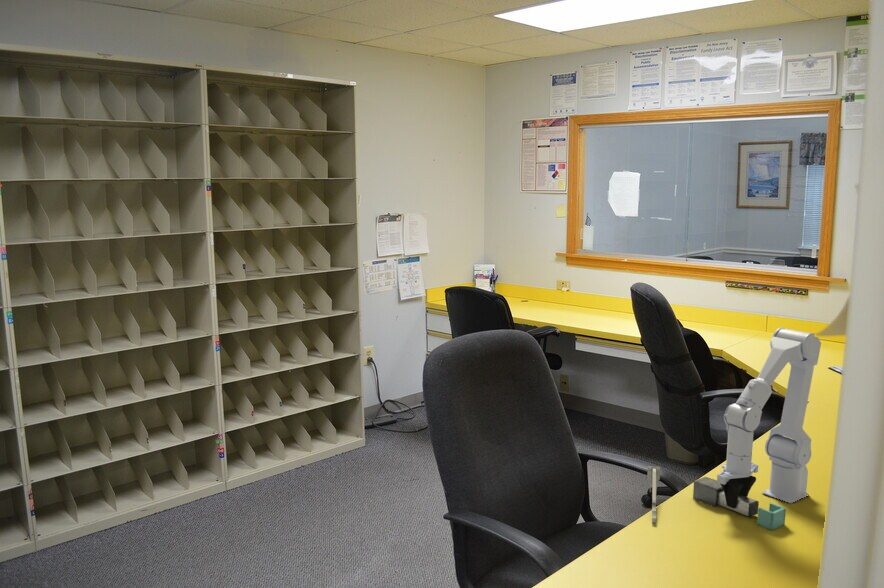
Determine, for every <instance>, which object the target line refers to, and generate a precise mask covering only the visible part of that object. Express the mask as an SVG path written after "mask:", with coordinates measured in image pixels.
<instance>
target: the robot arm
mask: <svg viewBox="0 0 884 588" xmlns="http://www.w3.org/2000/svg"><path fill="white" fill-rule="evenodd" d="M815 334H816V333H814V332H805V331H800V330H795V329H791V328H790V329H789V328H785V327H778V328H777V329H776V330H774V333H773V334H772V337H771V339H769V341H770V343H769V345H770V351H769V354H768V355H767V358H766V359H765V362H764V364H763V366H762V368H761V370H760V372H759V373H758V376H757V377H756V378H754V379H753V378H752V379H750V380H749V381H748V383H747V385H746V386H745V388H744V390H743V391H742V392H741V394H740V395H739V397H738V398H737V400H736V402H735V403H732V404H729V405H728V406H727V408H726V409H725V413H724V414H723V422H724V423H725V428H726V429H725V430H726V432H727V444H726V445H727V446H726V447H727V448H726V458H725V460H726V462H725V464H723V465H721V468H722V471H720V472H719V474H717V475H716V481H717V482H718V483H720V484H721V486H722V488H723V491H724V494H725V498H726V503H727V506H729V507H731V508H736V506H737V502H738V496H739V494H740V495H743V496H746V497H749V495H750V494H749V493H750V491H751V489H752V487H753V485H754V484H755V483H756V482H757V477H756V476H754V475H753V473H754V474H757V473H758V472H759V464H757V463H753V462H752V460H753V459H752V458H753V445H754V432H755V430H757V428H758V427H759V425H760V423H761V417H762V413H763V411H762V410H763V408H764V406H765V405H766V403H767V401H768V400H769V398H770V397H771V394H772V393H773V390H772V387H771V386H772V384H774V381H776V379H777V378H778V376H779V375H780V374H781V372H782V371H783V370H784V368H785V367H786V366H787V364H788V363H789V366H790V371H789V377H788V381H787V387H786V392H785V398H784V403H783V407H782V408H783V409H782V412H781V419H780V423H779V425H776V426H775V427H772V428H771V429H770V431H769V435H768V437H767V439H766V441H765V443H764V450H765V453H766V455H767V456H768V459H769V461H771V464H770V465H771V466H770V477H769V488H767V489H765V490H763V491H762V493H761V494H763V495H766V496H768V497H770V498H773V497H774V499H776V498H777V499H776V500H779V499H780V500H779V501H782V500H783V501H782V502H784V501H785V503H787V502H788V504H793V502H794V503H796V502H798V501H800V500H799V499H801V498H803V499H805V498H806V497H805V496H807V495H809V494H810V493H809V492H807V489H808V476H809V470H808V468H807V466H806V465H807V464H808V463H809V462H810V461H811V458H812V447H811V446H812V439H811V437H810V436H809V434H808V433H807V432H806V431H805V430H804V428H803V427H804V422H805V417H806V413H807V408H808V407H807V406H808V402H809V401H808V400H809V396H810V390H811V386H812V380H813V375H814V370H815V366H817V365H818V363H819V358H820V352H821V346H822V342H821V340H820V338H819V336H818V337H815V336H814V335H815ZM805 494H806V495H805ZM804 497H805V498H804ZM797 500H798V501H797ZM801 500H802V499H801ZM795 501H796V502H795Z"/></svg>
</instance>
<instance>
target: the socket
mask: <svg viewBox="0 0 884 588" xmlns="http://www.w3.org/2000/svg"><path fill="white" fill-rule="evenodd" d="M786 511H787V508H786V507H783V506H781V505H778V504H776V503H772V502H770V503H769V507H768V509H765V508H762V507H758V514H757V522H756V523H757V526H761V527H763V528H765V529H768V530H770V531H774V530H776V529H778V528H781V527H783V526H785V525H786V524H785V522H786ZM784 524H785V525H784ZM782 525H783V526H782Z"/></svg>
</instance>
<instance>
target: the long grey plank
mask: <svg viewBox="0 0 884 588" xmlns="http://www.w3.org/2000/svg"><path fill="white" fill-rule="evenodd" d="M759 503H760V501H758V500H756V499H753V498H751V497H749V496H747V497H746V496H743V495H740V494H739V496H738V502H737V506H736V508H731V507H729V506H727V503H726V498H725V494H724V491H723V489H721V490H718V491H717V504H719V506H722V507H724V508H726V509H728V510H732V511H734V512H737V513H739V514H741V515H745V516H747V517H749V518H752V517H754V516H756V515H758V509H759Z"/></svg>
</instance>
